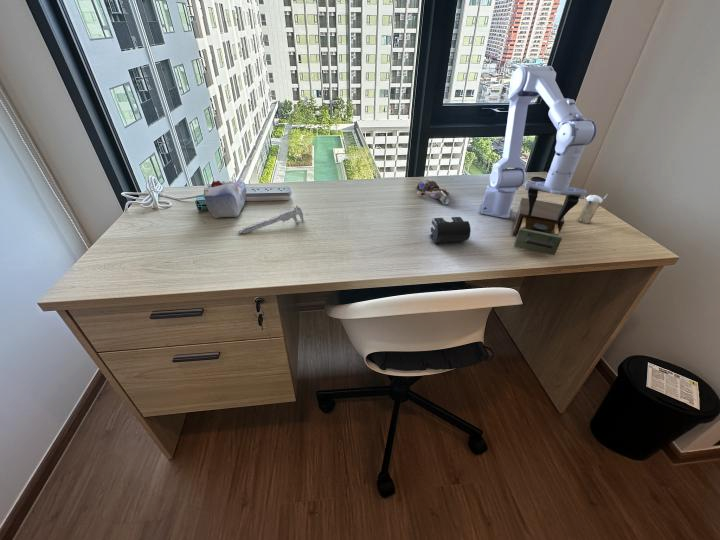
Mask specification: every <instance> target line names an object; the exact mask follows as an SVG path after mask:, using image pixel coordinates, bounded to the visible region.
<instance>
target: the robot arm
mask: <svg viewBox="0 0 720 540" xmlns="http://www.w3.org/2000/svg"><path fill="white" fill-rule="evenodd" d="M556 79H557V72H556V71H555V69H554V67H553V66H552V65H546V66H525V65H520V66H518V67H517V68H516V69H515V70H514V72H513V73H512V74H511V76H510V81H509V88H508V98H507V99H508V100H509V106H508V114H507V121H506V122H507V123H506V128H505V134H504V135H505V136H504V142H503V151H502V158H501V159H500V160H497V162H495V163H493V165H492V170H491V173H490V175H489V184H490V185H487V186H486V190H485V192H484V193H485V194H484V197H483V200H482V201H481V205H480V206H481V209H480V214H481V215H487V216H491V217H497V218H503V219H506V220H507V219H510V216H511V210H512V209H511V207H512V204H513V201H514V197H515V194H516V192H517V191H519V188H521V187H523V186H524V187H523V188H524V191H527V199H529V211H528V216H531V214H532V210H533V206H534V204H535V201H536V200H537V198H538V194H539V192H542V193H548V194H552V195H559V196H564V197H565V198H564V201H563V204H562V205H563V206H562V209H561V211H560V213H559V215H558V218H557V221H559V222H560V221H561V220H562V218H563V217H564V218H565V216H566V215H567V214H568V212H569V211H571V209H573V208H574V207H576V206H577V204H579V201H580V200H584V199H585V198H586V195H587V194H588V193H587V189H582V188H578V187H574V186H570V184H571V182H572V180H573V176H574V174H575V172H576V169H577V167H578V164H579V162H580V160H581V157H582V155H583V152H584V150H585V147H586V146H588V145H590V144H592V142H593V141H594V140H595V138H596V136H597V132H598V127H597V124H596V122H595V120H593V119H587V117H584V115H583V113H581V111H580V110H579V109H578V106H577V105H576V101H575V100H574V98H572V99H571V98H566V97H564V95H563V93H562V92H561V88H560V87H559V85H558V83H557V81H556ZM539 97H541V98H542V100H543V101H544V102H545V104H546V105H547V106H548V108H549V110H548V117H549V120H550V121H551V123H552V124H553V126H554V127H555V129H556V135H555V139H556V143H555V146H554V151H555V153H554V156H553V158H552V161H551V163H550V168H549V169H548V172H547V175H546V178H545V180H544V181H531V180H526V179H527V175H526V164H525V162H524V161H523V160H522V159H521V154H522V146H523V140H524V133H525V129H526V122H527V115H528V107H529V104H531V102H532V101H533V100H535V99H538V98H539ZM579 199H580V200H579Z"/></svg>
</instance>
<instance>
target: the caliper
mask: <svg viewBox="0 0 720 540" xmlns="http://www.w3.org/2000/svg"><path fill="white" fill-rule="evenodd" d="M292 207H293V209H289V210H286V211H284V212H281V213H279V215H276V216H273V217H271V218H268V219H265V220H262V221H259V222H256V223H253V224H250V225H248V226H245V227H242V229H240V230H239V231H238V233H239V234H242V233H244V234H248V233H250V232H252V231H256V230H258V229H261V228H263V227H267V226H269V225H273V224H275V223H278V222H282V223H285V222H289V220H290V219H293V221H294V222H295V223H296V224H299V221H298V218H297V215H298V216H299V218H300V221H301V223H303V222H304V214H303V210H302V209H301V207H300V206H298V204H296V205H295V206H292Z"/></svg>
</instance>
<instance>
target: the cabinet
mask: <svg viewBox="0 0 720 540" xmlns="http://www.w3.org/2000/svg"><path fill="white" fill-rule="evenodd" d="M562 206H563V204H561V203H555V202H548V201H544V200H537V199H536V201H535V204H534V206H533V210H532V214H531V216H528V211H529V198H525V197H521V199H520V202H519V205H518V208H517V211H516V214H515V217H514V224H513V229H512V230H513V231H512V236H515V237H517V235H518V230H519V226H520V223H521V221H522V218H523V217H528V218H533V219H539V220H544V221H549V222H555V223H558V230H559V234H560V233H561V231H562V229H563V226H564V224H565V216H564V217H563V218H562V220H561V221H560V222H559V221H557V218H558V215H559V213H560V211H561V209H562Z"/></svg>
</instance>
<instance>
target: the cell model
mask: <svg viewBox="0 0 720 540" xmlns="http://www.w3.org/2000/svg"><path fill="white" fill-rule="evenodd" d="M203 198H204V201H205V206H206V208H207V210H208V212H209V214H210V215H211V217H212V218H214V219H219V218H225V217H226V218H227V217H229V218H233V217H234V218H235V217H238V216H239V215H240V213H241V210H242V209H243V207H244V206H245V204H246V199H247V189H246V182H245V181H240V180H236V181H225V180H222V181H221V180H215V181H214V180H213V181H212V183H211V184H209V185H207V187H205V188H204V189H203Z"/></svg>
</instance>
